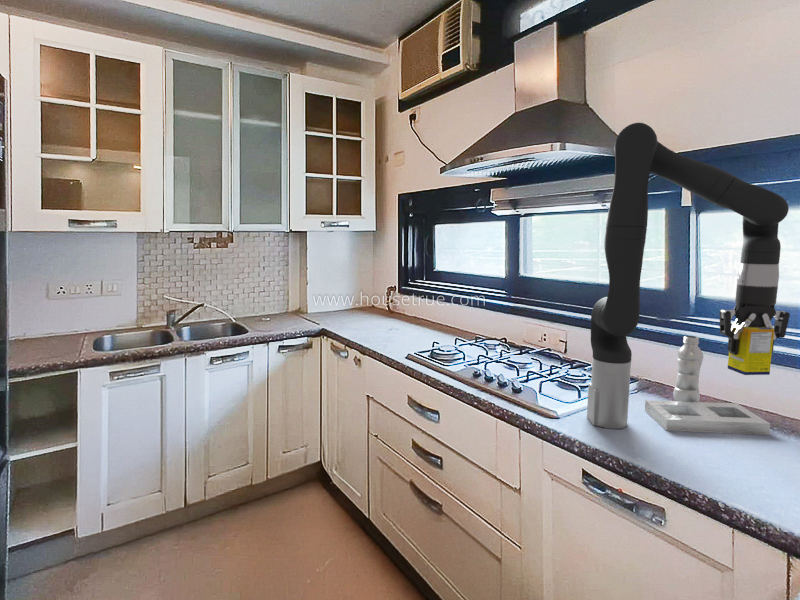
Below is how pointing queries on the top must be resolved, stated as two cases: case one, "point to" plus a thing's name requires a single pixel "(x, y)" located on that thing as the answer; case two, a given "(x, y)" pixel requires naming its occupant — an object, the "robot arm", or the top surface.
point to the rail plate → (706, 417)
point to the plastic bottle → (688, 371)
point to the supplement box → (753, 352)
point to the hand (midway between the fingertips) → (749, 354)
